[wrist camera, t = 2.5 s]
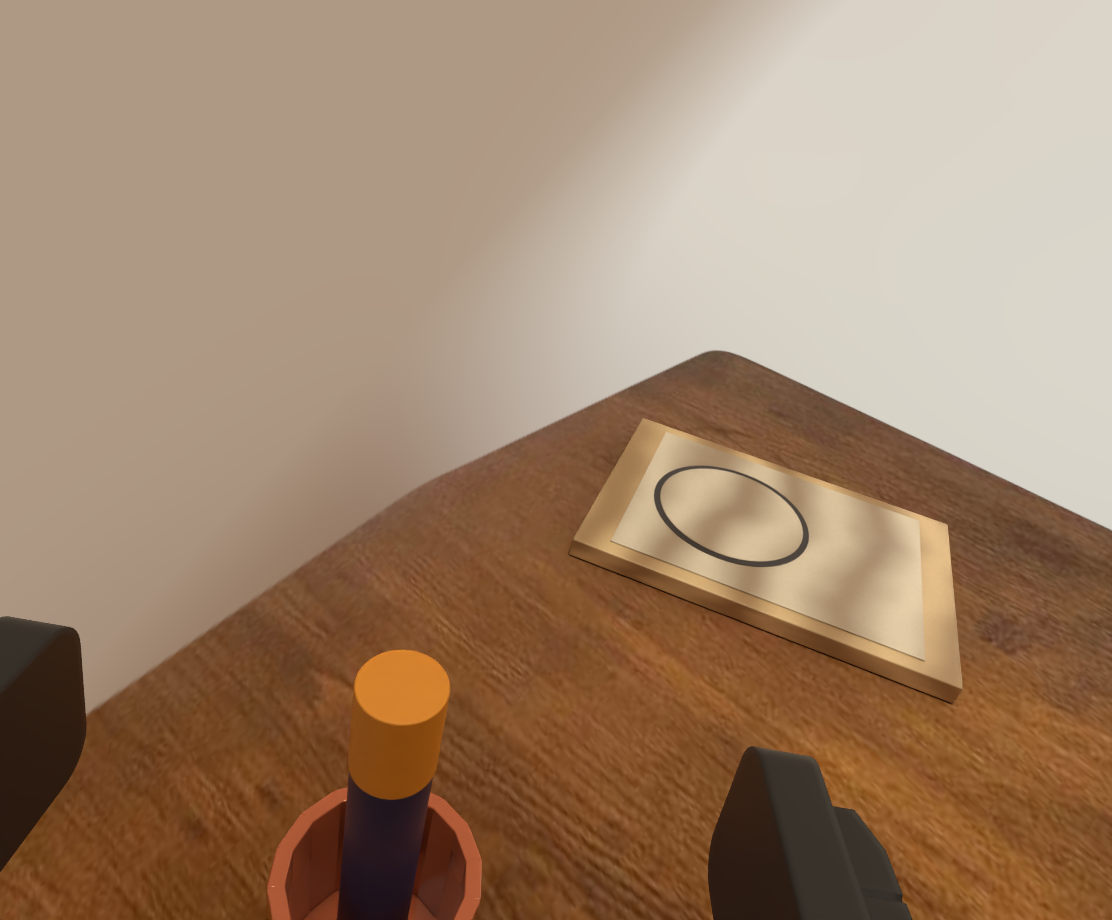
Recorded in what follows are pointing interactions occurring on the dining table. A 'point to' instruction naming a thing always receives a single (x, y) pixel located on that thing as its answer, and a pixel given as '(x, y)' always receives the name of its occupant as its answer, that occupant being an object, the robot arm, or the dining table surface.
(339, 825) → the pen pot
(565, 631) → the dining table surface
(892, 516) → the drawing board
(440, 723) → the marker
